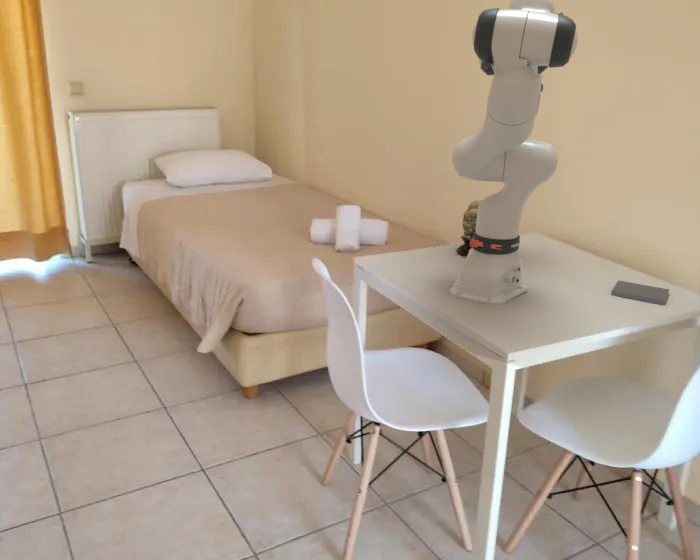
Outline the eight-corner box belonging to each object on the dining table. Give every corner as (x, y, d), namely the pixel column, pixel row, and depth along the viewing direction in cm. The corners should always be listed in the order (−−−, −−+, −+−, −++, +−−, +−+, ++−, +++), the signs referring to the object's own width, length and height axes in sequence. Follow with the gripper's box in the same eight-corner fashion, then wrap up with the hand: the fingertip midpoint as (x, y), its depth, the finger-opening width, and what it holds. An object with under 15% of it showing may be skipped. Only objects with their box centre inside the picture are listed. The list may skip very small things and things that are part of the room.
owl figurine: (480, 264, 199) (486, 208, 193) (446, 256, 206) (450, 202, 200) (506, 251, 212) (512, 198, 207) (473, 244, 219) (478, 193, 214)
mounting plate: (664, 305, 170) (664, 300, 170) (610, 295, 176) (611, 290, 176) (668, 293, 178) (669, 289, 178) (617, 284, 184) (618, 280, 184)
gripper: (525, 88, 181) (519, 139, 185) (545, 85, 198) (539, 132, 202) (502, 87, 184) (498, 137, 188) (524, 84, 201) (519, 131, 205)
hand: (519, 135), depth 195 cm, fingers open, 8 cm apart
